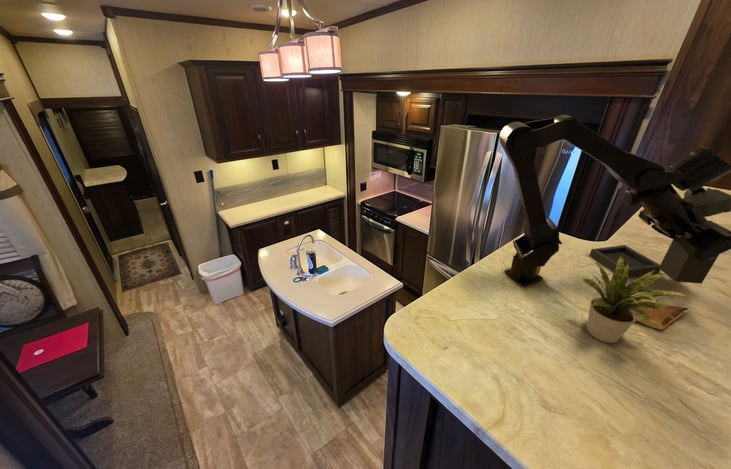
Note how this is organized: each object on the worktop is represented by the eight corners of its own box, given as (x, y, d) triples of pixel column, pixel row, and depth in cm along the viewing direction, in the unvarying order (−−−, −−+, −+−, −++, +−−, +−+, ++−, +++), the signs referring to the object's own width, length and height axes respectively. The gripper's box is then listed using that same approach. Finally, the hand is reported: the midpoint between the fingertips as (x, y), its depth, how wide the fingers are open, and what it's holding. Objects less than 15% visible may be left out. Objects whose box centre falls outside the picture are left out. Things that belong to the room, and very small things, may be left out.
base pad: (622, 278, 72) (625, 270, 71) (589, 255, 81) (591, 248, 80) (659, 273, 73) (662, 266, 72) (622, 251, 82) (625, 244, 81)
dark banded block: (674, 281, 65) (702, 230, 59) (658, 268, 70) (682, 219, 64) (702, 283, 64) (733, 232, 58) (683, 269, 69) (710, 220, 63)
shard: (685, 312, 61) (689, 306, 60) (705, 340, 55) (710, 333, 54) (621, 302, 65) (624, 296, 64) (634, 326, 59) (637, 320, 58)
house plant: (617, 380, 49) (658, 309, 41) (544, 325, 61) (565, 261, 53) (665, 348, 54) (709, 279, 46) (589, 303, 65) (614, 241, 57)
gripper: (756, 196, 49) (796, 254, 52) (675, 165, 64) (710, 211, 68) (678, 235, 54) (719, 285, 57) (622, 197, 70) (656, 238, 73)
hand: (700, 251), depth 64 cm, fingers closed on dark banded block, 5 cm apart
